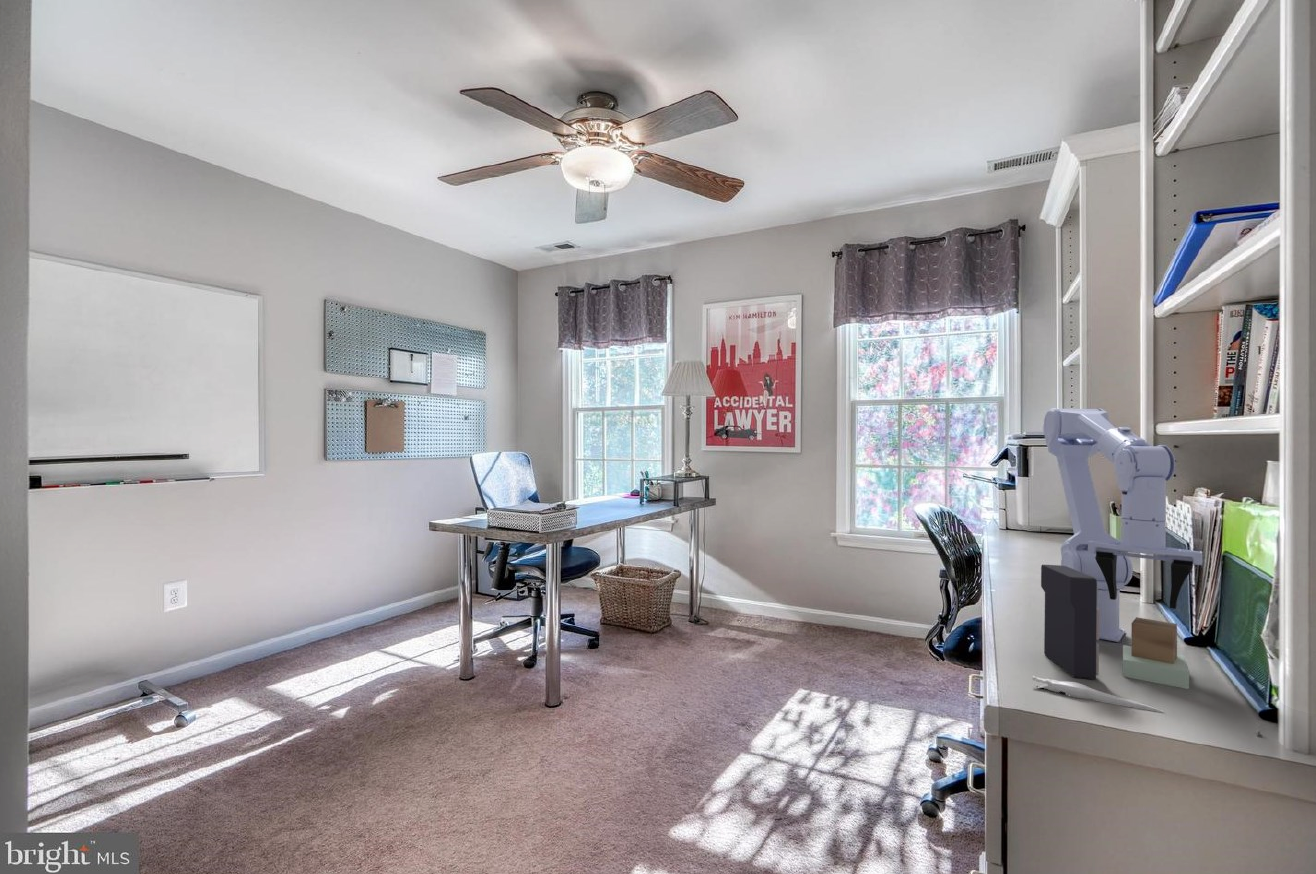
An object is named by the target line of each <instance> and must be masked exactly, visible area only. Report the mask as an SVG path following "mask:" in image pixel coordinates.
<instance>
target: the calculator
mask: <svg viewBox="0 0 1316 874" xmlns="http://www.w3.org/2000/svg"><path fill="white" fill-rule="evenodd" d="M1040 566H1041V567H1040V586H1041V588H1042V590H1043V592H1044V635H1043V636H1044V639H1043V641H1044V642H1043V643H1044V645H1043V646H1044V647H1043V650H1044V651H1043V652H1044V656H1046V657H1047V658H1048V659H1050V661H1052V662H1053V663H1055V664H1056V665H1057V666H1059V667H1060V668H1061V669H1062V670H1064V672H1066V673H1067V674H1069V675H1070V676H1071V677H1073V678H1075V679H1085V680H1086V679H1089V680H1095V679H1096V678H1097V676H1099V674H1100V673H1099V671H1100V668H1099V667H1100V656H1099V655H1100V645H1099V644H1098V642H1097V641H1099V640H1100V639H1099V609H1098V608H1097V605H1098V581H1097V580H1096V579H1095V578H1094V577H1091V576H1089V575H1086V574H1084V573H1081V572H1079V571H1076V570H1074V569H1072V568H1069V567H1067V566H1061V564H1060V565H1059V564H1057V565H1056V564H1042V565H1040Z"/></svg>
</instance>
